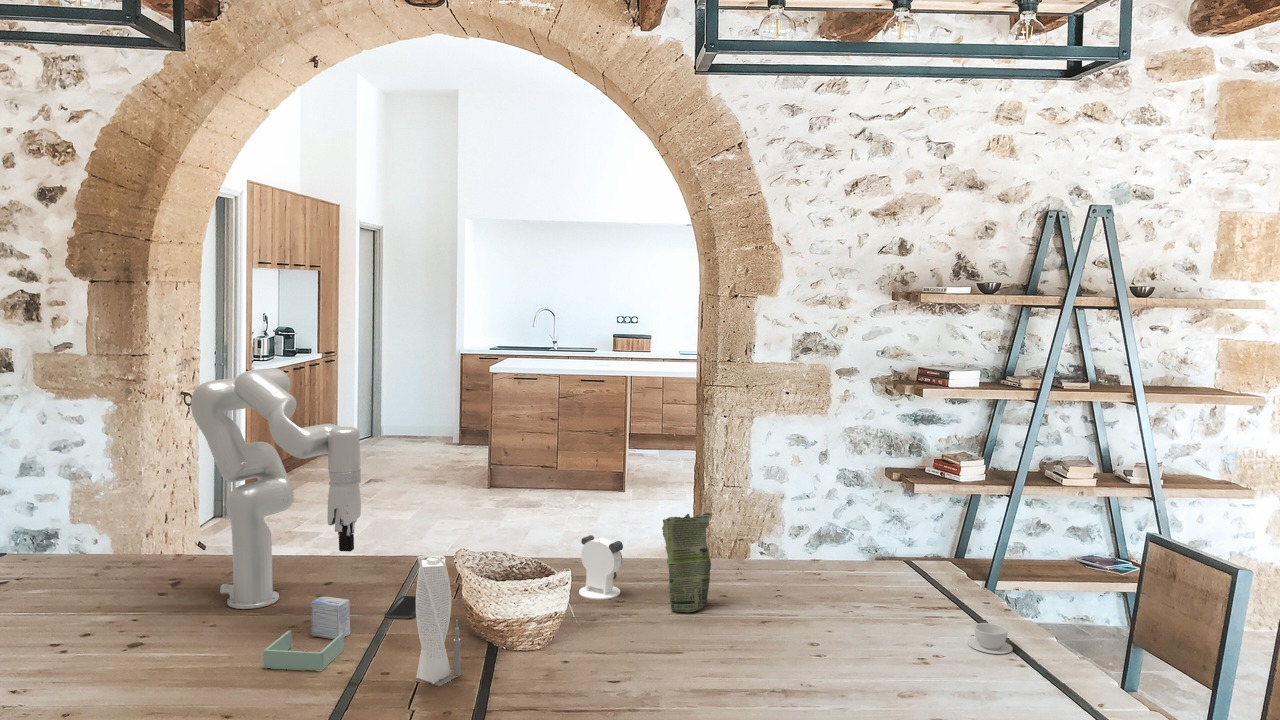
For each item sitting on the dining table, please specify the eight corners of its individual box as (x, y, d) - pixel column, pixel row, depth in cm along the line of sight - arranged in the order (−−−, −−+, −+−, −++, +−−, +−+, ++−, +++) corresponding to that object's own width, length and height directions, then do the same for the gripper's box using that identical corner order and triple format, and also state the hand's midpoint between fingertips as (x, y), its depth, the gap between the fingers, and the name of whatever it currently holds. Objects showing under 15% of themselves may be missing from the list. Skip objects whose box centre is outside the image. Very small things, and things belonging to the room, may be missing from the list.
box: (263, 668, 204) (263, 650, 204) (288, 647, 216) (288, 630, 216) (321, 671, 203) (321, 653, 203) (343, 649, 215) (343, 633, 215)
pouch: (658, 610, 243) (660, 516, 241) (674, 596, 254) (675, 506, 252) (699, 616, 239) (701, 521, 237) (713, 602, 250) (715, 510, 248)
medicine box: (350, 634, 224) (350, 599, 224) (339, 641, 220) (338, 605, 219) (323, 630, 227) (323, 595, 226) (311, 636, 223) (310, 601, 222)
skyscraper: (435, 690, 195) (434, 559, 193) (407, 681, 199) (406, 553, 197) (463, 676, 202) (462, 549, 200) (435, 667, 207) (435, 543, 204)
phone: (383, 615, 235) (402, 595, 250) (383, 619, 235) (402, 599, 250) (413, 616, 235) (431, 596, 249) (413, 621, 235) (431, 600, 250)
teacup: (991, 658, 215) (992, 639, 215) (958, 643, 224) (959, 624, 224) (1022, 651, 220) (1022, 632, 220) (988, 636, 229) (989, 618, 228)
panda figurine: (630, 591, 258) (630, 538, 257) (606, 602, 249) (607, 547, 248) (594, 583, 265) (595, 531, 264) (570, 594, 255) (571, 540, 254)
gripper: (342, 471, 237) (344, 542, 239) (316, 483, 222) (318, 558, 224) (370, 471, 236) (372, 542, 238) (347, 484, 222) (349, 559, 223)
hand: (346, 550), depth 231 cm, fingers closed
